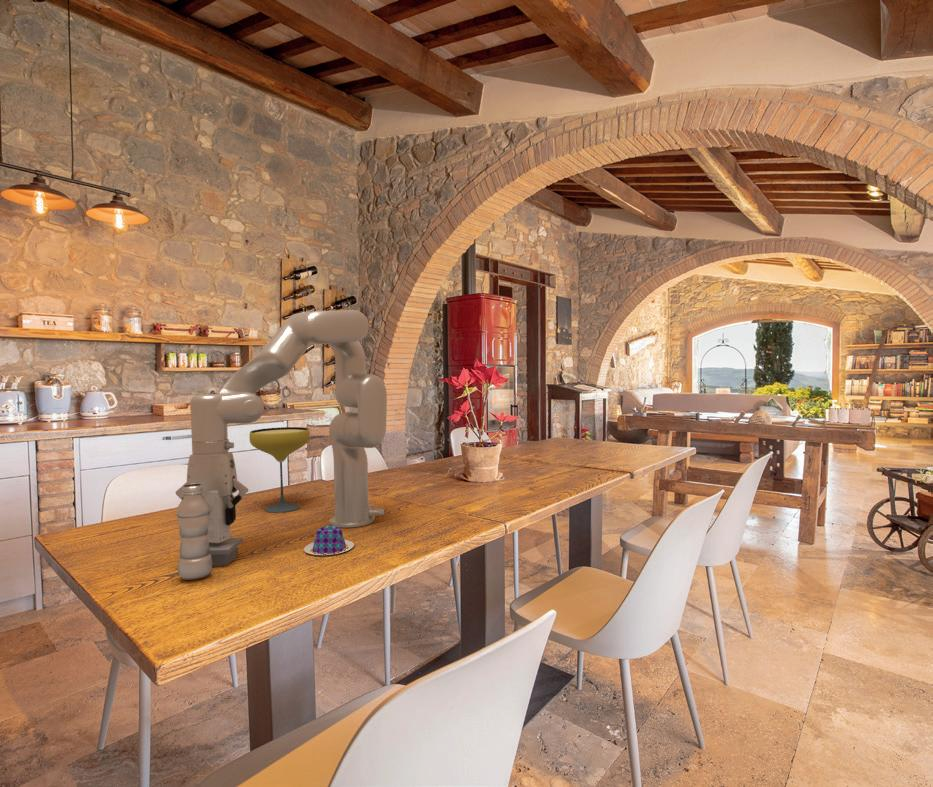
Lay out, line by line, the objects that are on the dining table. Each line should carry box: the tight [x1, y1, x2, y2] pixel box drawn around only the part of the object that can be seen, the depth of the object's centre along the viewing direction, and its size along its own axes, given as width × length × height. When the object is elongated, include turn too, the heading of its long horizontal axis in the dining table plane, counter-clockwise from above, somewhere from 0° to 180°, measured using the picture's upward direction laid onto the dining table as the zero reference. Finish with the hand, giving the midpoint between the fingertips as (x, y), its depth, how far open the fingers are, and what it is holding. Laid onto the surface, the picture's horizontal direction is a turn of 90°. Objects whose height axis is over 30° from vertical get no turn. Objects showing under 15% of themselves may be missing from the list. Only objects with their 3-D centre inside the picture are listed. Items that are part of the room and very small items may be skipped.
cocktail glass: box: [249, 426, 311, 514], centre depth 175 cm, size 18×18×25 cm
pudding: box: [303, 525, 355, 556], centre depth 135 cm, size 12×12×5 cm
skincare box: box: [204, 491, 232, 543], centre depth 127 cm, size 6×4×12 cm
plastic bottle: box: [175, 483, 213, 581], centre depth 117 cm, size 6×7×20 cm
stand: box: [209, 537, 244, 567], centre depth 128 cm, size 10×9×4 cm
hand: (213, 523), depth 127 cm, fingers closed on skincare box, 7 cm apart
